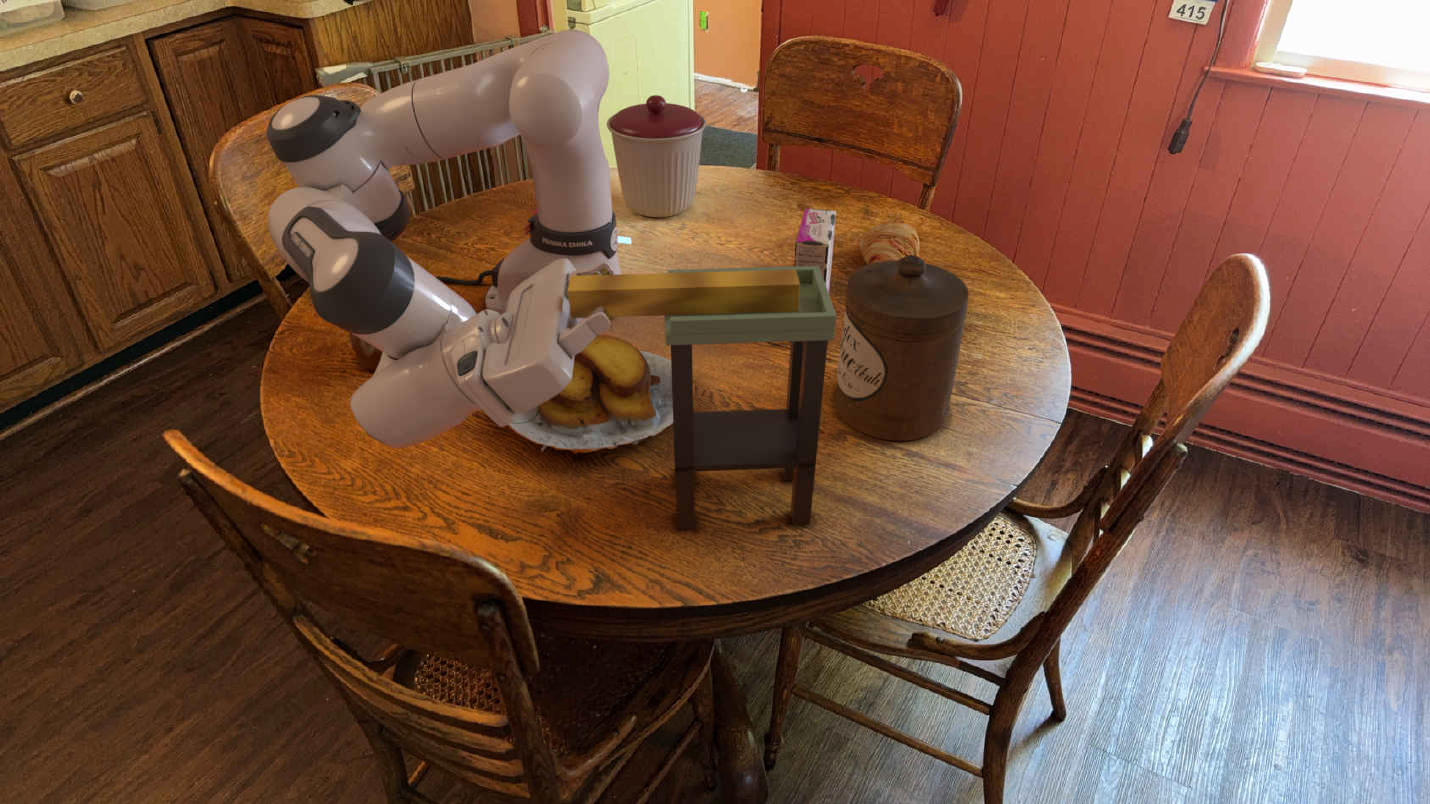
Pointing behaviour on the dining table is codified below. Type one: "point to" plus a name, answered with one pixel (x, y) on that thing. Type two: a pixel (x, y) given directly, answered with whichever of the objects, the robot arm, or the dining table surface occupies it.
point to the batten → (685, 293)
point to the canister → (657, 155)
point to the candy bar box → (816, 241)
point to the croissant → (889, 242)
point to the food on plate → (604, 400)
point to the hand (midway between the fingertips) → (609, 291)
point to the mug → (365, 353)
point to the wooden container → (899, 348)
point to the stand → (753, 432)
